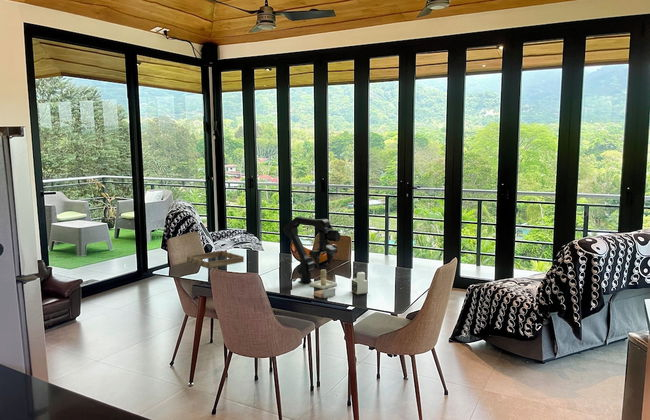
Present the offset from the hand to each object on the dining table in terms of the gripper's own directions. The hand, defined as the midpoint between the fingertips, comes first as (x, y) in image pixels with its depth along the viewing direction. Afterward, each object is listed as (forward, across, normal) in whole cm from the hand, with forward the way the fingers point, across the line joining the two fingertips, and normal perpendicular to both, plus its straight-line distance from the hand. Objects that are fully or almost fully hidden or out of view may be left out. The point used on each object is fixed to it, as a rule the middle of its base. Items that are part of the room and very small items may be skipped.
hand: (323, 265), depth 300 cm
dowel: (+12, 0, 0) cm, 12 cm away
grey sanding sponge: (+12, -13, -18) cm, 25 cm away
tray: (+12, 0, 0) cm, 13 cm away
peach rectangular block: (+13, -14, -14) cm, 23 cm away
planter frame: (+12, -13, +101) cm, 103 cm away
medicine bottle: (+13, +6, -24) cm, 28 cm away
